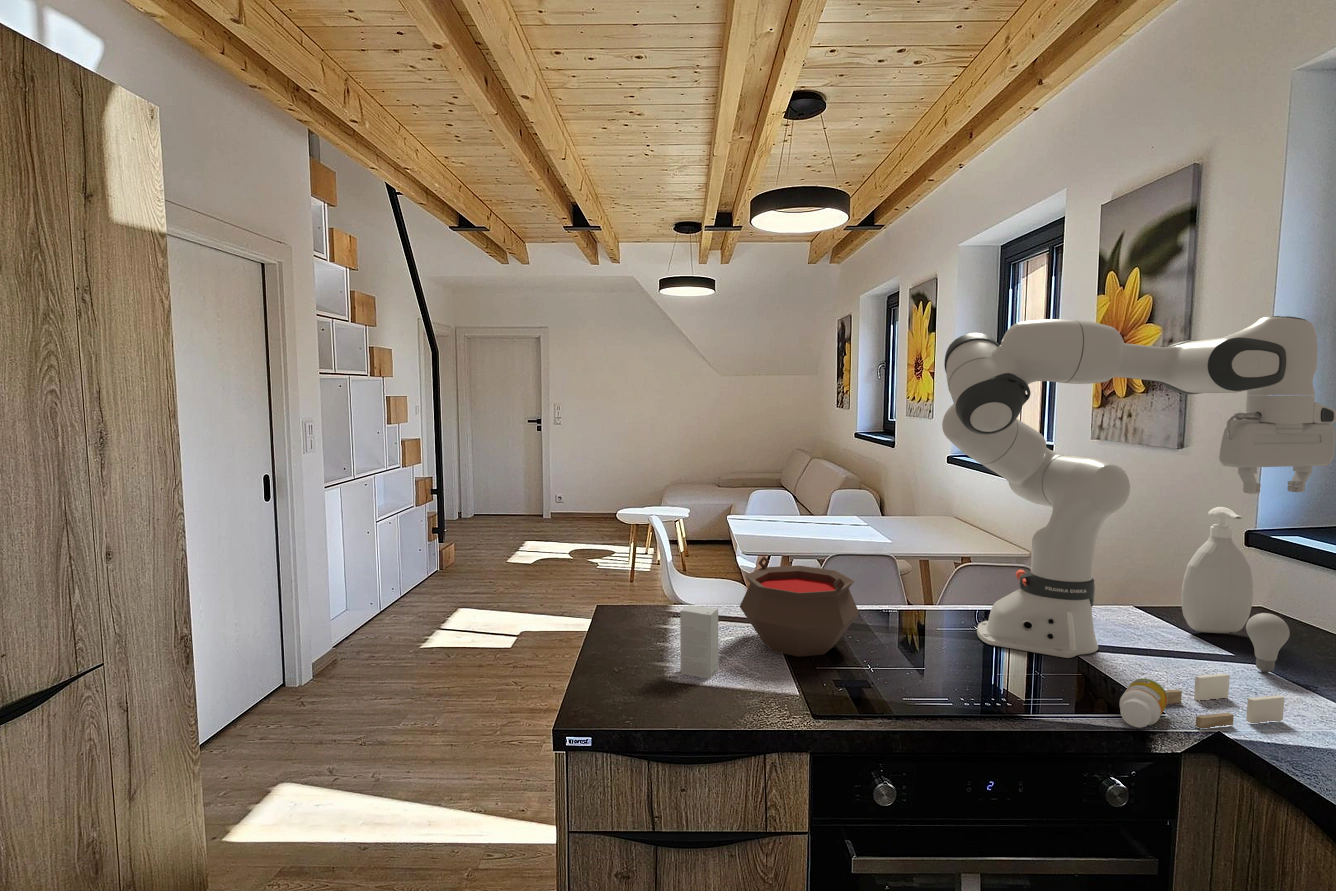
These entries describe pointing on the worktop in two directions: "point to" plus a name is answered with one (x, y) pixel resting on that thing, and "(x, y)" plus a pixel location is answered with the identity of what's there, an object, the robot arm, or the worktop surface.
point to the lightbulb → (1267, 638)
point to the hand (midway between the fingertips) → (1273, 492)
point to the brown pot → (799, 608)
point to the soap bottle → (1217, 582)
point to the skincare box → (699, 641)
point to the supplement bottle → (1143, 702)
